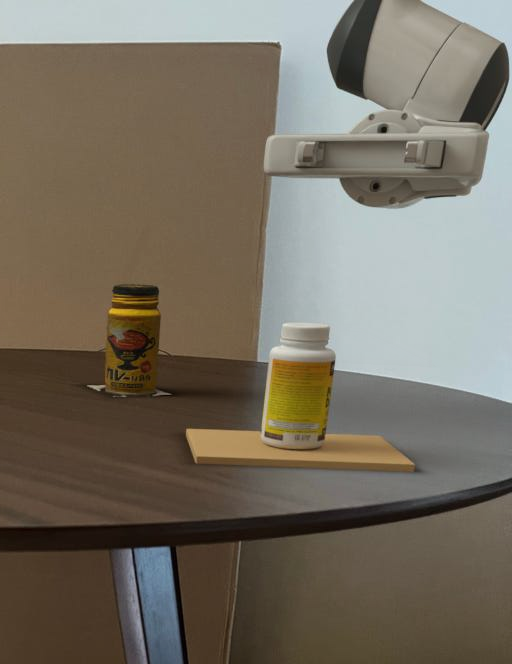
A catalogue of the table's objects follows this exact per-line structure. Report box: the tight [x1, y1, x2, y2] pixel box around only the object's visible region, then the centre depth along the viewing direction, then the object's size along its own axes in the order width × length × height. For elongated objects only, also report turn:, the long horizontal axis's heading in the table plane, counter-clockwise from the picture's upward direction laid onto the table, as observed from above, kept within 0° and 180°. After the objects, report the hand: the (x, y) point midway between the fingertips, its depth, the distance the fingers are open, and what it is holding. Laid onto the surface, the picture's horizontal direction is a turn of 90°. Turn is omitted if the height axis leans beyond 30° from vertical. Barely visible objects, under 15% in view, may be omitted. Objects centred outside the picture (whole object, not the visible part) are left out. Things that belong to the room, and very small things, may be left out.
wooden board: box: [185, 428, 416, 473], centre depth 91 cm, size 18×12×1 cm, turn 86°
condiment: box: [88, 283, 172, 398], centre depth 119 cm, size 7×8×12 cm
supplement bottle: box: [260, 322, 337, 450], centre depth 89 cm, size 6×6×10 cm
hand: (358, 151), depth 92 cm, fingers open, 8 cm apart
